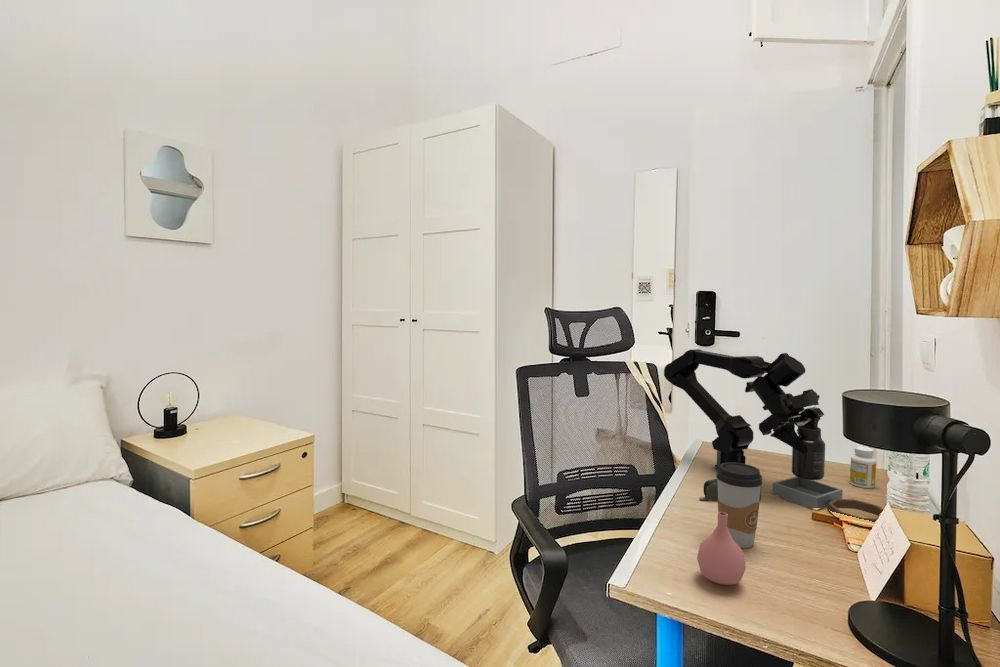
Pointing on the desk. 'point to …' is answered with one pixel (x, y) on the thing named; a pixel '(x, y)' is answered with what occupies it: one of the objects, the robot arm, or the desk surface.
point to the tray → (806, 492)
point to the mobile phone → (712, 490)
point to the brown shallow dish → (854, 504)
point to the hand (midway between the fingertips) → (814, 451)
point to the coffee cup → (739, 500)
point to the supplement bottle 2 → (863, 468)
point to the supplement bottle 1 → (809, 454)
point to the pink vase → (721, 555)
